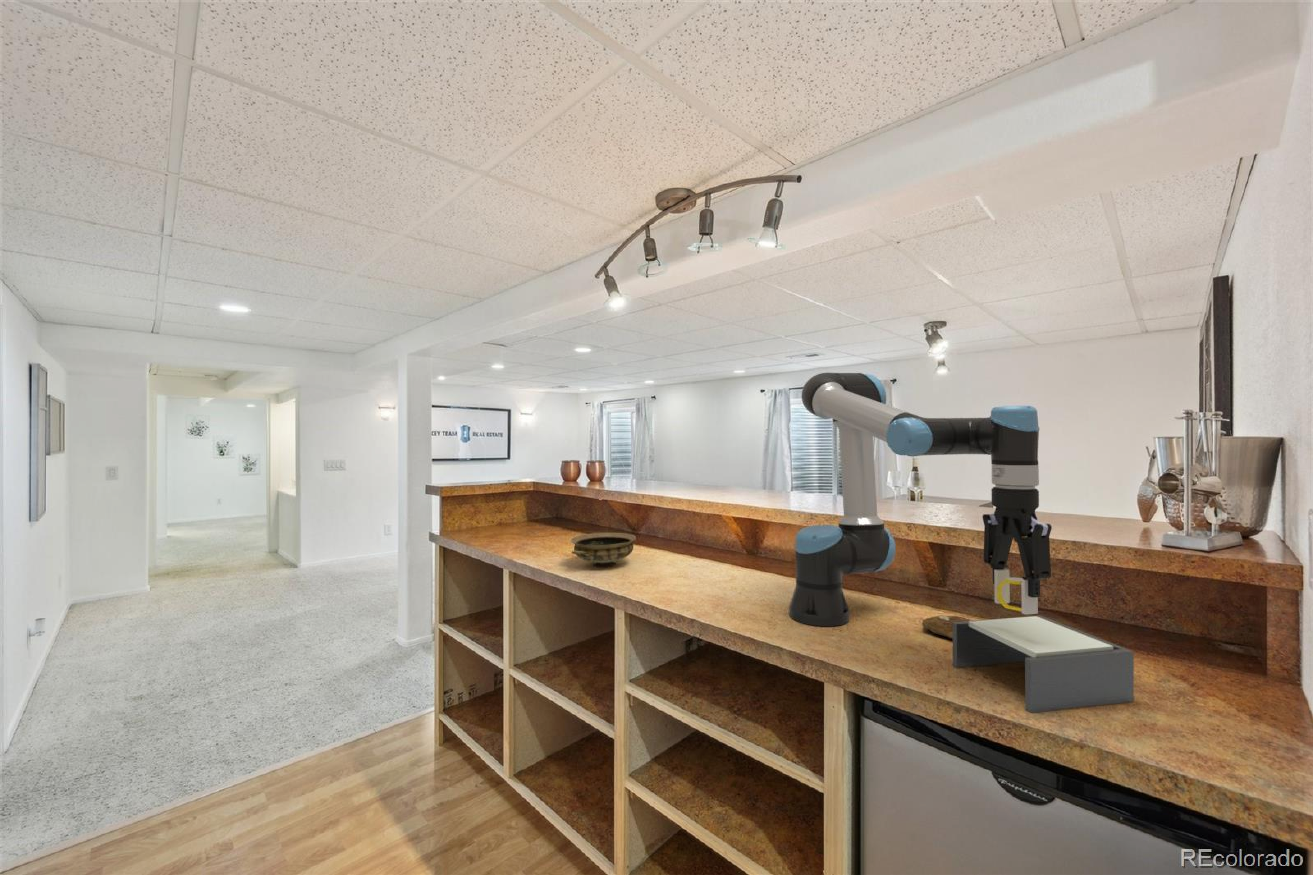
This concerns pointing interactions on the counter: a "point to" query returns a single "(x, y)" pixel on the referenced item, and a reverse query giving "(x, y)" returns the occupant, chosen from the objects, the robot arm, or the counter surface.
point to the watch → (1008, 580)
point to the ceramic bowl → (603, 547)
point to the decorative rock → (942, 624)
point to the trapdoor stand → (1054, 670)
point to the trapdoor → (1038, 636)
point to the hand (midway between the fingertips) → (1015, 607)
